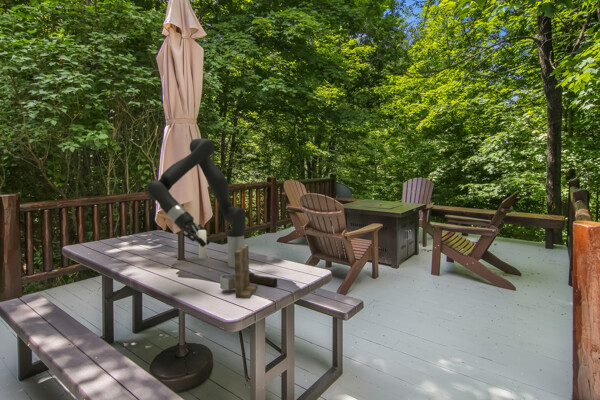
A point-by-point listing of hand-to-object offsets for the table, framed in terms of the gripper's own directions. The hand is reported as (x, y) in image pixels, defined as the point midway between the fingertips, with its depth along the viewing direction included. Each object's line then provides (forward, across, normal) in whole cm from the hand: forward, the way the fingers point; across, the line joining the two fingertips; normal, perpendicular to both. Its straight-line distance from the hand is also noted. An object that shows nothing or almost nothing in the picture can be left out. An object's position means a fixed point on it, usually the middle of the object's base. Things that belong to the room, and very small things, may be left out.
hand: (206, 244), depth 150 cm
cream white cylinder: (+3, 0, +6) cm, 6 cm away
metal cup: (+21, +2, +7) cm, 22 cm away
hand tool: (+29, +14, +2) cm, 32 cm away
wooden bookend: (+28, +2, +3) cm, 28 cm away
